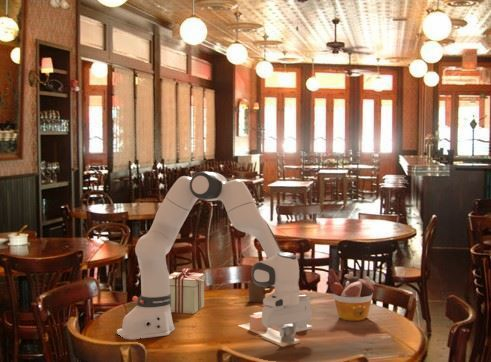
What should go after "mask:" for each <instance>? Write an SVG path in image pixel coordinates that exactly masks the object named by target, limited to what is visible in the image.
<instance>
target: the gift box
mask: <svg viewBox="0 0 491 362" xmlns="http://www.w3.org/2000/svg"><path fill="white" fill-rule="evenodd" d="M191 270H192V268H182V269H181V272H175V271H174V272H173V273H169V285H170V294H171V307H170V308H171V313H178V314H179V313H180V314H196V313H197V312H199V311H200V310H201V309H203V308H204V307H205V282H206V272H203V273H202V272H201V273H200V272H190V271H191Z"/></svg>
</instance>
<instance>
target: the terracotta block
mask: <svg viewBox="0 0 491 362" xmlns="http://www.w3.org/2000/svg"><path fill="white" fill-rule="evenodd" d="M249 323H250V329H252V330H255V331H261V330H266V329H268V328H267V327H265V326H264V325H263V324H262V314H256V315H255V314H251V315H249Z"/></svg>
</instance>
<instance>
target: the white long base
mask: <svg viewBox="0 0 491 362" xmlns="http://www.w3.org/2000/svg"><path fill="white" fill-rule="evenodd" d="M237 326H238V327H241V328H243V329H244V330H247V331H250V332H252V333H255V334H257V335H258V336H257V337H258V338H261V339H263V340H266V341H267V342H270V343H273V344H275V345H276V346H277V345H278V346H280V347H286V346H291V345H296V344H300V343H301V339H298V338H297V337H295V335H294V327H292V326H289V325H283V328H282V329H283V331H284V332H286V336H285V337H280V332H279V330H275V329H273V328H272V327H271V328H268V329H266V330H261V331H255V330H252V329H250V322H248V323H243V324H238V325H237Z"/></svg>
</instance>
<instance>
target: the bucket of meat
mask: <svg viewBox="0 0 491 362" xmlns="http://www.w3.org/2000/svg"><path fill="white" fill-rule="evenodd" d="M343 277H344V278H346V279H345V280H344V281H342V284H341V282H340V280H339V278H338V276H337V274H336V272H335V271H334V269H332V268H330V269H329V275H328V276H327V280H328V282H329V284H330V285H329V288H330V290H331V292H333V293H332V294H333V299H334V303H335V306H336V311H337V316H338V317H339V318H340V319H341V320H343V321H347V320H348V321H347V322H360V320H361V321H364V320H365V319H366V318H367V317H368V316H369V312H370V309H371V303H372V299H373V295H374V292H375V287H374V285H375V284H376V282H375V280H371V278H370V277H369V276H365V277H364V278H365V279H364V278H359V276H354V272H353V271H350V272H349V273H347V274H344V276H343Z"/></svg>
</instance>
